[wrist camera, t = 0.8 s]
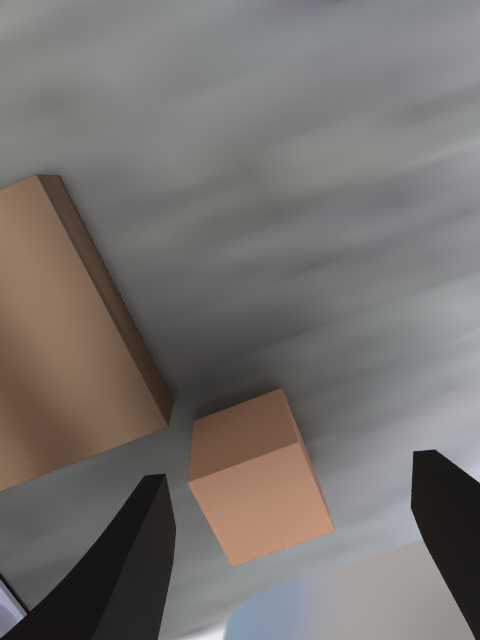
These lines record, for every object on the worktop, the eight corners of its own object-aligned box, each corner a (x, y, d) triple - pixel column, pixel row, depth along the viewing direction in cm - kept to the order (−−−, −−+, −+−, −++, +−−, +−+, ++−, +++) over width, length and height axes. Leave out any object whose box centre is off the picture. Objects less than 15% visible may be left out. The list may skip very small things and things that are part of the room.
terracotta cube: (229, 491, 24) (231, 566, 19) (193, 420, 23) (187, 482, 18) (311, 461, 24) (334, 530, 19) (281, 387, 22) (298, 441, 18)
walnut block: (-25, 473, 23) (-58, 513, 21) (-168, 275, 20) (-232, 291, 17) (174, 396, 23) (168, 427, 20) (63, 175, 19) (36, 174, 16)
